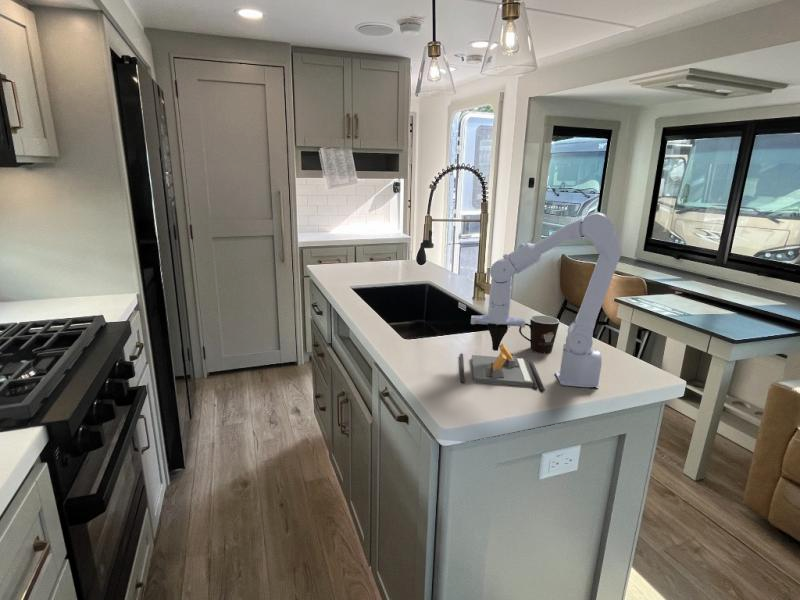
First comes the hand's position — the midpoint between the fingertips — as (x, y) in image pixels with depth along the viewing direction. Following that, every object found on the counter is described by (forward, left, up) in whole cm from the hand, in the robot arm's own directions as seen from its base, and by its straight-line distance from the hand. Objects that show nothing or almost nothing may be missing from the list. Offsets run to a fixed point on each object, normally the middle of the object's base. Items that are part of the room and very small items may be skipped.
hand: (495, 349), depth 129 cm
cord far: (+9, +4, -5) cm, 11 cm away
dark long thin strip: (-9, +5, -5) cm, 12 cm away
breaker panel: (-1, +4, -5) cm, 7 cm away
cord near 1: (-11, +5, -5) cm, 13 cm away
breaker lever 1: (-4, 0, -2) cm, 5 cm away
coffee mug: (-14, -16, -5) cm, 22 cm away
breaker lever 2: (+1, +8, -2) cm, 8 cm away
